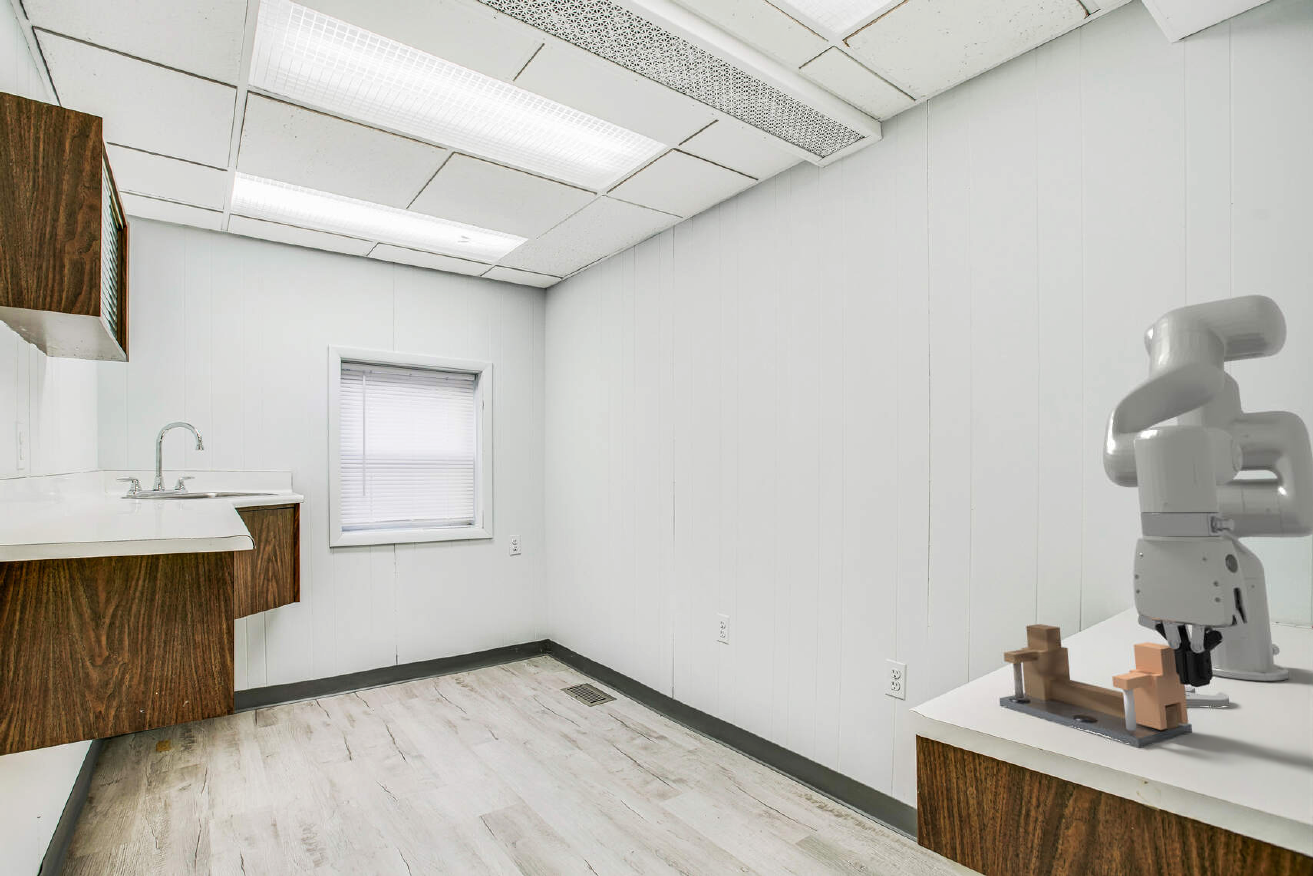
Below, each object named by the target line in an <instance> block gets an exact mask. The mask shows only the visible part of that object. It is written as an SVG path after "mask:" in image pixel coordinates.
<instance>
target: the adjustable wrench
mask: <svg viewBox="0 0 1313 876" xmlns="http://www.w3.org/2000/svg"><path fill="white" fill-rule="evenodd" d="M1185 693H1186V704H1187V706H1209V707H1210V706H1211V707H1222V706H1229V704H1230V696H1229V694H1226V693H1224V692H1220V691H1219V692H1218V693H1217V694H1215V695H1214V694H1213V695H1212V694H1199V693H1196V687H1193V686H1185ZM1229 707H1230V706H1229Z"/></svg>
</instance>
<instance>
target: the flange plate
mask: <svg viewBox="0 0 1313 876" xmlns="http://www.w3.org/2000/svg"><path fill="white" fill-rule="evenodd" d="M1023 696H1024V698H1022V699H1020V698H1016V697H1015V694H1013V695H1008V696H1004V697H999V698H998V699H999V706H1000V705H1002V706H1001V707H1003V706H1006V707H1005V708H1007V707H1008V708H1007V709H1009V710H1013V711H1016V710H1017V712H1020V713H1024V714H1026V715H1028V716H1029V715H1030V716H1033V717H1036V718H1040V719H1044V720H1046V721H1049V722H1054V723H1056V724H1059V723H1060V724H1059V725H1062V724H1063V726H1067V727H1069V726H1073V727H1076V728H1080V729H1083V730H1089V731H1092V732H1095V733H1100V734H1102V735H1105V736H1109V737H1111V738H1113V739H1117V740H1120V741H1122V742H1124V743H1123V744H1125V743H1129V744H1130V745H1129V746H1131V745H1132V746H1131V747H1135V746H1136V747H1135V748H1139V749H1140V748H1144V747H1147V746H1150V745H1154V744H1157V743H1160V742H1165V741H1168V740H1171V739H1174V738H1178V737H1182V736H1187V735H1189V734H1192V733H1193V726H1192V724H1191V723H1189V722H1188V723H1185V724H1181V723H1178V724H1179V726H1178V727H1175V728H1171V729H1167V730H1166V729H1162V730H1160V729H1156V728H1153V727H1149V726H1145V725H1142V724H1138V723H1136V727H1137V730H1136V731H1132V730H1128V729H1126V718H1122V717H1118V716H1115V715H1111V714H1107V713H1104V712H1100V711H1096V710H1093V709H1089V708H1085V707H1082V706H1078V705H1074V704H1071V703H1067V702H1063V701H1060V700H1056V699H1048V700H1043V699H1039V698H1035V697H1032V696H1028V695H1025V692H1023Z"/></svg>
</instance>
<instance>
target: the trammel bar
mask: <svg viewBox="0 0 1313 876" xmlns="http://www.w3.org/2000/svg"><path fill="white" fill-rule="evenodd" d="M1025 627H1026V641H1027V647H1021V649H1019V650H1018V649H1017V650H1011V651H1005V652H1003V659H1004V662H1006V663H1009V664H1012V666H1013V667H1012V668H1013V669H1012V670H1013V681H1014V695H1015V697H1016V698H1020V699H1022V698H1024V696H1023V693H1025V695H1028V696H1032V697H1035V698H1039V699H1043V700H1048V699H1056V700H1060V701H1063V702H1067V703H1071V704H1074V705H1078V706H1082V707H1085V708H1089V709H1093V710H1096V711H1100V712H1104V713H1107V714H1111V715H1115V716H1118V717H1122V718H1125V706H1124V694H1123V691H1119V690H1115V689H1110V688H1107V687H1103V686H1102V687H1101V686H1098V685H1094V684H1091V683H1085V682H1082V681H1081V682H1080V681H1077V680H1073V679H1071V676H1070V663H1069V650H1068V647H1066V646H1062V637H1061V628H1060V626H1053V625H1047V624H1043V623H1039V624H1031V625H1026V626H1025ZM1165 712H1166V723H1167V728H1166V730H1167V729H1171V728H1175V727H1178V726H1179V724H1178V713H1177V705H1174V704H1170V705H1166V706H1165Z"/></svg>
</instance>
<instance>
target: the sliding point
mask: <svg viewBox="0 0 1313 876" xmlns="http://www.w3.org/2000/svg"><path fill="white" fill-rule="evenodd" d="M1133 649H1134V650H1133V651H1134V660H1135V669H1131V670H1129V672H1128V673H1122V674H1119V675H1114V676H1111V677H1112V686H1113V687H1114V688H1117V689H1122V692H1123V694H1124V706H1125V718H1126V729H1128V730H1132V731H1136V730H1137V727H1136V723H1138V724H1142V725H1145V726H1149V727H1153V728H1156V729H1160V730H1162V729H1166V728H1167V723H1166V712H1165V706H1166V705H1170V704H1174V705H1177V713H1178V723H1181V724H1185V723H1189V718H1188V716H1189V715H1188V707H1187V704H1186V693H1185V687H1186V685H1184V684H1181V683H1180V679H1179V675H1178V674H1177V672H1176V665H1175V655H1174V649H1173V648H1171V647H1170V646H1169V645H1168V644H1161V643H1155V642H1150V641H1147V642H1142V643H1136V644H1135V643H1134V644H1133Z"/></svg>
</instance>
